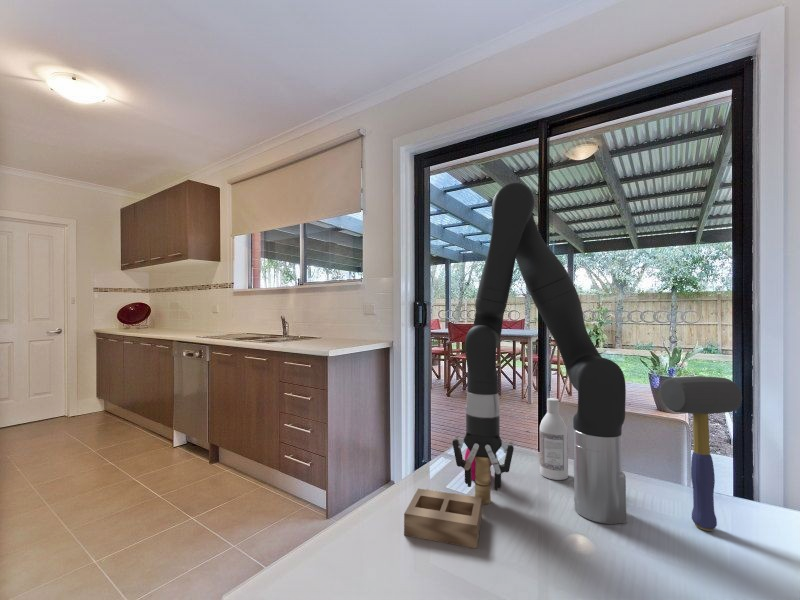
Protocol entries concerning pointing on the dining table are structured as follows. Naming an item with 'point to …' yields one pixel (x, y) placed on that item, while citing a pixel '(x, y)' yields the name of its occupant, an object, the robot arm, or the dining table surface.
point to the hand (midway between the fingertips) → (482, 487)
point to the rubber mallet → (701, 432)
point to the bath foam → (553, 443)
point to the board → (444, 517)
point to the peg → (482, 479)
